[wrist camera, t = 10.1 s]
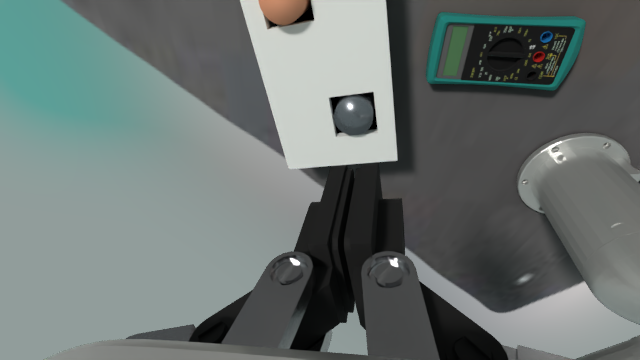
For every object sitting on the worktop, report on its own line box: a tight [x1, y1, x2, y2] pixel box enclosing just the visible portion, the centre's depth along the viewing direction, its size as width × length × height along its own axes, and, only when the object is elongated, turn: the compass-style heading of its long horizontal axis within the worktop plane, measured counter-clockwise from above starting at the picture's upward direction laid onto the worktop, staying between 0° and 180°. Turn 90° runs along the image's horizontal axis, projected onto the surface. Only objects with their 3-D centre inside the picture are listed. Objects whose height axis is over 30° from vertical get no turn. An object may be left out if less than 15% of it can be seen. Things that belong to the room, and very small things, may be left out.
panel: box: [240, 0, 398, 169], centre depth 37 cm, size 14×26×6 cm, turn 11°
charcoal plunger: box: [334, 92, 374, 135], centre depth 40 cm, size 4×4×6 cm
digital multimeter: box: [426, 12, 586, 91], centre depth 36 cm, size 7×15×3 cm, turn 89°
